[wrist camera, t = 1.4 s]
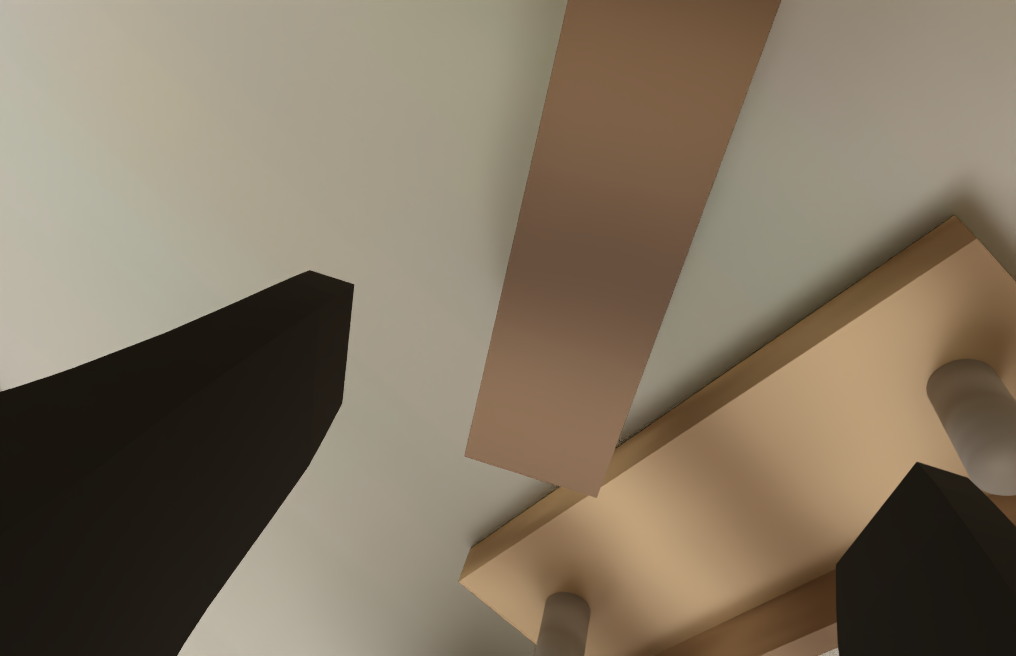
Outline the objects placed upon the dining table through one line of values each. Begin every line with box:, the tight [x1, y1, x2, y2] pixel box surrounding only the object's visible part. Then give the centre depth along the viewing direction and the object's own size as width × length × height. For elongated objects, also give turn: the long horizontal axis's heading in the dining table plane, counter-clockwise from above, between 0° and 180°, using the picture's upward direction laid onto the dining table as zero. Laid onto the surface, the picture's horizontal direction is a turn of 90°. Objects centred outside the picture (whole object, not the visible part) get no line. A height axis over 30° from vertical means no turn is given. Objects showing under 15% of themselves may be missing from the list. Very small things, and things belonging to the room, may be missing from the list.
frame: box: [465, 0, 781, 498], centre depth 15 cm, size 10×3×6 cm, turn 169°
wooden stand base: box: [458, 215, 1016, 656], centre depth 20 cm, size 18×7×4 cm, turn 139°
